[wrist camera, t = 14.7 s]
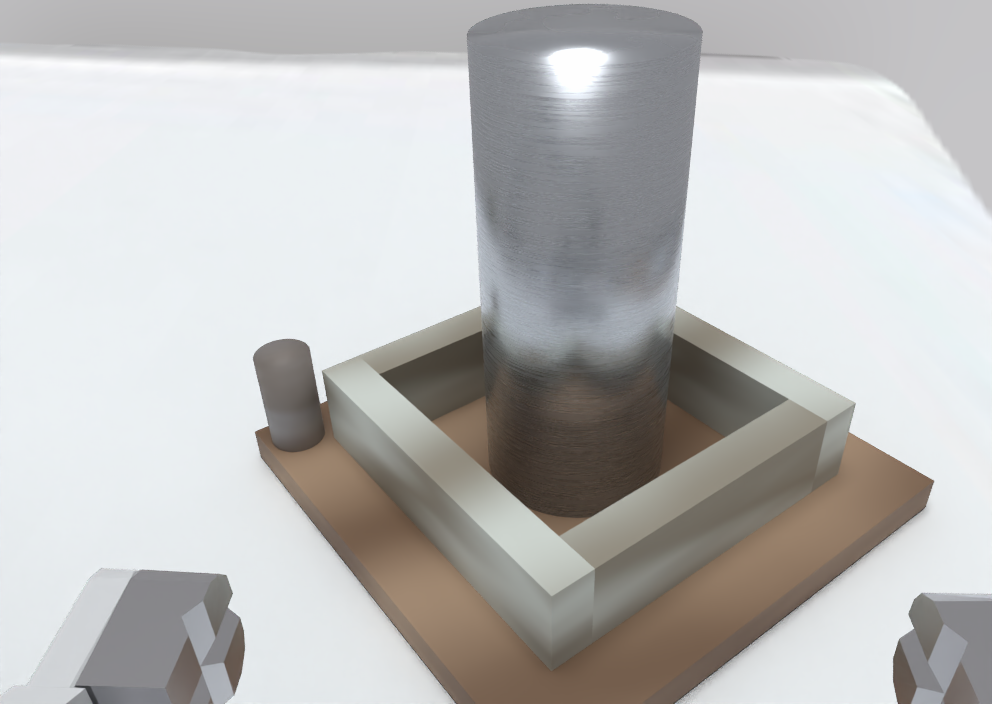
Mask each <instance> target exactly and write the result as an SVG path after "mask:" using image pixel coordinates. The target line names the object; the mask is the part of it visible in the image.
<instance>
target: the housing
mask: <svg viewBox="0 0 992 704" xmlns="http://www.w3.org/2000/svg"><path fill="white" fill-rule="evenodd" d="M253 361H254V365H255V369H256V374H257V378H258V382H259V386H260V391H261V395H262V399H263V404H264V408H265V412H266V416H267V421H268V425H269V426H267V427H265V428H263V429H260V430H258V431H256V432H255V434H256V438H257V442H258V446H259V450H260V454H261V457H262V458H263V460H264V461H265V462H266V463H267V465H268V466H269V467H270V468H271V470H272V471H273V472H274V473H275V475H276V476H277V477H278V479H279V480H280V481H281V482H282V484H283V485H284V486H285V487H286V489H287V490H288V491H289V492H290V494H291V495H292V496H293V497H294V499H295V500H296V501H297V503H298V504H299V505H300V506H301V508H302V509H303V510H304V511H305V513H306V514H307V515H308V516H309V518H310V519H311V520H312V521H313V523H314V524H315V525H316V527H317V528H318V529H319V530H320V532H321V533H322V534H323V535H324V537H325V538H326V539H327V540H328V542H329V543H330V544H331V545H332V547H333V548H334V549H335V551H336V552H337V553H338V554H339V556H340V557H341V558H342V559H343V561H344V562H345V563H346V564H347V566H348V567H349V568H350V569H351V571H352V572H353V573H354V575H355V576H356V577H357V578H358V580H359V581H360V582H361V583H362V585H363V586H364V587H365V588H366V590H367V591H368V592H369V593H370V595H371V596H372V597H373V599H374V600H375V601H376V602H377V604H378V605H379V606H380V607H381V609H382V610H383V611H384V612H385V614H386V615H387V616H388V617H389V619H390V620H391V621H392V623H393V624H394V625H395V626H396V628H397V629H398V630H399V631H400V633H401V634H402V635H403V636H404V638H405V639H406V640H407V641H408V643H409V644H410V645H411V647H412V648H413V649H414V650H415V652H416V653H417V654H418V655H419V657H420V658H421V659H422V660H423V662H424V663H425V664H426V665H427V667H428V668H429V669H430V671H431V672H432V673H433V674H434V676H435V677H436V678H437V679H438V681H439V682H440V683H441V684H442V686H443V687H444V688H445V689H446V691H447V692H448V693H449V695H450V696H451V697H452V698H453V700H454V701H455V702H456V703H457V704H674V703H675V702H676V701H677V700H679V699H680V698H681V697H683V696H684V695H685V694H686V693H688V692H689V691H690V690H691V689H693V688H694V687H695V686H697V685H698V684H699V683H700V682H702V681H703V680H704V679H706V678H707V677H708V676H709V675H711V674H712V673H713V672H715V671H716V670H717V669H718V668H720V667H721V666H722V665H724V664H725V663H726V662H727V661H729V660H730V659H731V658H733V657H734V656H735V655H736V654H738V653H739V652H740V651H742V650H743V649H744V648H745V647H747V646H748V645H749V644H750V643H752V642H753V641H754V640H756V639H757V638H758V637H759V636H761V635H762V634H763V633H765V632H766V631H767V630H768V629H770V628H771V627H772V626H774V625H775V624H776V623H777V622H779V621H780V620H781V619H783V618H784V617H785V616H786V615H788V614H789V613H790V612H792V611H793V610H794V609H795V608H797V607H798V606H799V605H801V604H802V603H803V602H804V601H806V600H807V599H808V598H809V597H811V596H812V595H813V594H815V593H816V592H817V591H818V590H820V589H821V588H822V587H824V586H825V585H826V584H827V583H829V582H830V581H831V580H833V579H834V578H835V577H836V576H838V575H839V574H840V573H842V572H843V571H844V570H845V569H847V568H848V567H849V566H851V565H852V564H853V563H854V562H856V561H857V560H858V559H860V558H861V557H862V556H863V555H865V554H866V553H867V552H868V551H870V550H871V549H872V548H874V547H875V546H876V545H877V544H879V543H880V542H881V541H883V540H884V539H885V538H886V537H888V536H889V535H890V534H892V533H893V532H894V531H895V530H897V529H898V528H899V527H901V526H902V525H903V524H904V523H906V522H907V521H908V520H910V519H911V518H912V517H913V516H915V515H916V514H917V513H919V512H920V511H921V510H922V509H924V508H925V507H926V504H927V501H928V498H929V495H930V492H931V489H932V486H933V483H934V481H933V480H932V479H930V478H928V477H926V476H925V475H923V474H921V473H919V472H918V471H916V470H914V469H912V468H911V467H909V466H907V465H905V464H904V463H902V462H900V461H898V460H897V459H895V458H893V457H891V456H890V455H888V454H886V453H884V452H883V451H881V450H879V449H877V448H876V447H874V446H872V445H870V444H869V443H867V442H865V441H863V440H862V439H860V438H858V437H856V436H855V435H853V434H851V433H849V428H850V424H851V420H852V416H853V412H854V408H855V404H856V403H854V402H853V401H851V400H849V399H847V398H845V397H843V396H841V395H840V394H838V393H836V392H834V391H832V390H830V389H829V388H827V387H825V386H823V385H821V384H819V383H817V382H816V381H814V380H812V379H810V378H808V377H806V376H805V375H803V374H801V373H799V372H797V371H795V370H793V369H792V368H790V367H788V366H786V365H784V364H782V363H781V362H779V361H777V360H775V359H773V358H771V357H769V356H768V355H766V354H764V353H762V352H760V351H758V350H757V349H755V348H753V347H751V346H749V345H747V344H745V343H744V342H742V341H740V340H738V339H736V338H734V337H733V336H731V335H729V334H727V333H725V332H723V331H721V330H720V329H718V328H716V327H714V326H712V325H710V324H709V323H707V322H705V321H703V320H701V319H699V318H697V317H696V316H694V315H692V314H690V313H688V312H686V311H685V310H683V309H681V308H679V307H677V306H676V312H675V322H674V333H673V343H672V353H671V364H670V374H669V384H668V395H667V405H666V415H665V426H664V436H663V446H662V457H661V467H660V472H659V476H658V478H656V479H654V480H653V481H651V482H649V483H648V484H646V485H644V486H643V487H641V488H639V489H638V490H636V491H634V492H633V493H631V494H629V495H627V496H626V497H624V498H622V499H621V500H619V501H617V502H616V503H614V504H612V505H611V506H609V507H607V508H606V509H604V510H602V511H601V512H599V513H597V514H596V515H594V516H592V517H586V518H569V517H560V516H553V515H549V514H545V513H541V512H538V511H535V510H532V509H530V508H528V507H526V506H525V505H524V504H522V503H521V502H520V501H519V500H518V499H517V498H516V497H515V496H514V495H512V494H511V493H510V492H509V491H508V490H507V489H506V488H505V487H504V486H502V485H501V484H500V483H499V482H498V481H497V480H496V479H495V478H494V477H493V476H492V473H491V471H490V467H489V456H488V436H487V417H486V397H485V378H484V358H483V339H482V319H481V306H480V307H477V308H475V309H472V310H470V311H468V312H465V313H463V314H460V315H458V316H455V317H453V318H450V319H448V320H445V321H443V322H440V323H438V324H436V325H433V326H431V327H428V328H426V329H423V330H421V331H418V332H416V333H413V334H411V335H409V336H406V337H404V338H401V339H399V340H396V341H394V342H391V343H389V344H386V345H384V346H382V347H379V348H377V349H374V350H372V351H369V352H367V353H364V354H362V355H359V356H357V357H355V358H352V359H350V360H347V361H345V362H342V363H340V364H337V365H335V366H332V367H330V368H328V369H325V370H323V371H322V374H323V379H324V385H325V390H326V396H327V401H326V402H324V403H321V404H320V402H319V396H318V391H317V386H316V380H315V375H314V370H313V364H312V359H311V354H310V349H309V346H308V345H307V344H306V343H304V342H302V341H300V340H295V339H282V340H276V341H273V342H270V343H267V344H265V345H264V346H262V347H260V348H259V349H258V350H257V351H256V352H255V354H254V357H253Z"/></svg>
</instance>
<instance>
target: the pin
mask: <svg viewBox="0 0 992 704" xmlns="http://www.w3.org/2000/svg"><path fill="white" fill-rule="evenodd" d="M702 33H703V31H702V29H701V27H700V26H699V25H698V24H697V23H696V22H694V21H693V20H691V19H689V18H686V17H684V16H681V15H678V14H675V13H671V12H667V11H662V10H657V9H652V8H645V7H637V6H626V5H609V4H574V5H573V4H572V5H555V6H546V7H536V8H529V9H523V10H517V11H512V12H508V13H503V14H500V15H496V16H493V17H490V18H488V19H485V20H483V21H481V22H479V23H477V24H475V25H474V26H472V27H471V28H470V29H469V31H468V33H467V44H468V45H467V46H468V65H469V85H470V104H471V124H472V143H473V163H474V182H475V202H476V221H477V241H478V260H479V280H480V300H481V319H482V339H483V358H484V378H485V397H486V417H487V436H488V456H489V467H490V471H491V473H492V476H493V477H494V478H495V479H496V480H497V481H498V482H499V483H500V484H501V485H502V486H504V487H505V488H506V489H507V490H508V491H509V492H510V493H511V494H512V495H514V496H515V497H516V498H517V499H518V500H519V501H520V502H521V503H522V504H524V505H525V506H526V507H528V508H530V509H532V510H535V511H538V512H541V513H545V514H549V515H553V516H560V517H569V518H586V517H592V516H594V515H596V514H597V513H599V512H601V511H602V510H604V509H606V508H607V507H609V506H611V505H612V504H614V503H616V502H617V501H619V500H621V499H622V498H624V497H626V496H627V495H629V494H631V493H633V492H634V491H636V490H638V489H639V488H641V487H643V486H644V485H646V484H648V483H649V482H651V481H653V480H654V479H656V478H658V476H659V472H660V467H661V457H662V446H663V436H664V426H665V415H666V405H667V395H668V384H669V374H670V364H671V353H672V343H673V333H674V322H675V312H676V302H677V291H678V281H679V271H680V260H681V250H682V240H683V229H684V219H685V209H686V198H687V188H688V178H689V167H690V157H691V147H692V136H693V126H694V116H695V105H696V95H697V85H698V74H699V64H700V54H701V43H702Z"/></svg>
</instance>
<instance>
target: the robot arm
mask: <svg viewBox="0 0 992 704" xmlns="http://www.w3.org/2000/svg"><path fill="white" fill-rule="evenodd" d="M232 594H233V593H232V590H231V587H230V584H229V581H228V579H227V576H226V575H222V574H209V573H191V572H173V571H155V570H131V569H108V568H101V569H99V570H98V571H97V572H96V573H95V574H93V575H92V576H91V577H90V578H89V579H88V581H87V582H86V584H85V586H84V587H83V589H82V591H81V593H80V594H79V596H78V598H77V599H76V601H75V603H74V605H73V606H72V608H71V610H70V612H69V613H68V615H67V617H66V618H65V620H64V622H63V624H62V625H61V627H60V629H59V630H58V632H57V634H56V636H55V637H54V639H53V641H52V642H51V644H50V646H49V648H48V649H47V651H46V653H45V655H44V656H43V658H42V660H41V661H40V663H39V665H38V667H37V668H36V670H35V672H34V673H33V675H32V677H31V679H30V680H29V682H28V684H27V685H14V686H13V687H11V688H10V689H8V690H7V691H6V692H4V693H3V694H2V695H0V704H225V703H226V702H227V701H228V700H229V699H231V698H232V697H233V696H234V694H235V691H236V688H237V685H238V682H239V679H240V676H241V673H242V666H243V659H244V652H245V642H244V630H243V627H242V623H241V619H240V617H239V616H237V615H236V614H235V613H234V612H232V611H231V610H230V609H228V608H227V607H228V605H229V602H230V599H231V597H232ZM909 617H910V619H911V622H912V624H913V627H914V629H913V630H912V631H910V632H909V633H907V634H906V635H904V636H903V637H901V638H900V639H899V641H898V645H897V648H896V651H895V654H894V657H893V683H894V688H895V693H896V698H897V702H898V704H992V594H955V593H921V594H920V595H919V596H918V597H917V598H915V599H914V601H913V604H912V606H911V609H910V611H909Z"/></svg>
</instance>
